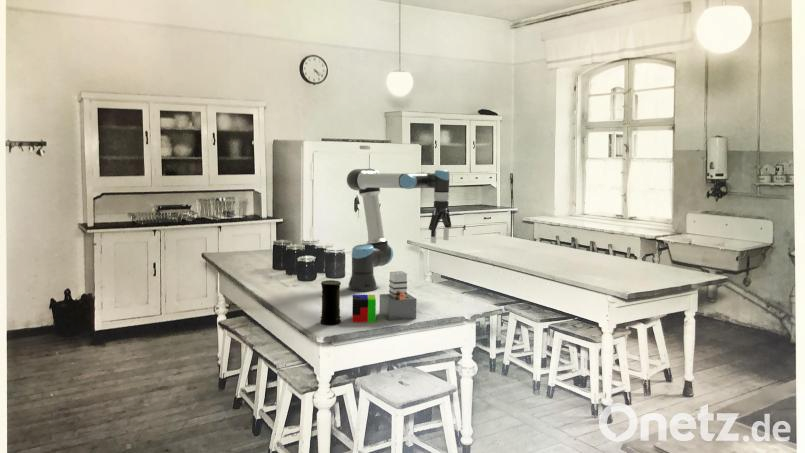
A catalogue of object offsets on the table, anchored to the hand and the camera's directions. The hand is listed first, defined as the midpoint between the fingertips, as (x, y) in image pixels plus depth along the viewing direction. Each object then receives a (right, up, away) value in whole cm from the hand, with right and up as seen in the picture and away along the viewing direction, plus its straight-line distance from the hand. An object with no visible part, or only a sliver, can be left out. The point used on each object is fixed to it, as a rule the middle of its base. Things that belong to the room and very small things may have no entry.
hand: (439, 241), depth 339 cm
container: (-50, -34, -53) cm, 81 cm away
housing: (-21, -33, -40) cm, 56 cm away
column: (-21, -33, -40) cm, 56 cm away
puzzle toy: (-36, -34, -46) cm, 68 cm away
